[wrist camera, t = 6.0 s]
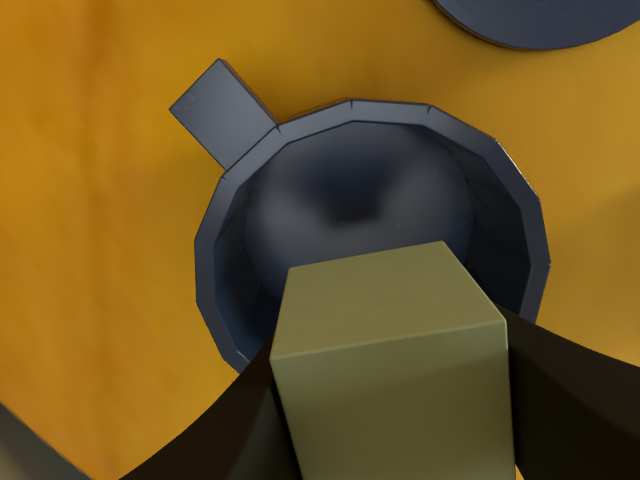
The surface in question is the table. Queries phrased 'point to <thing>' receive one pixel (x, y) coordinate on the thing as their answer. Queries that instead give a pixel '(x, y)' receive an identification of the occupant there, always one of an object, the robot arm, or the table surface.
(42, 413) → the table surface
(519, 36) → the lid
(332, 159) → the pot
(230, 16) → the table surface
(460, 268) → the block
